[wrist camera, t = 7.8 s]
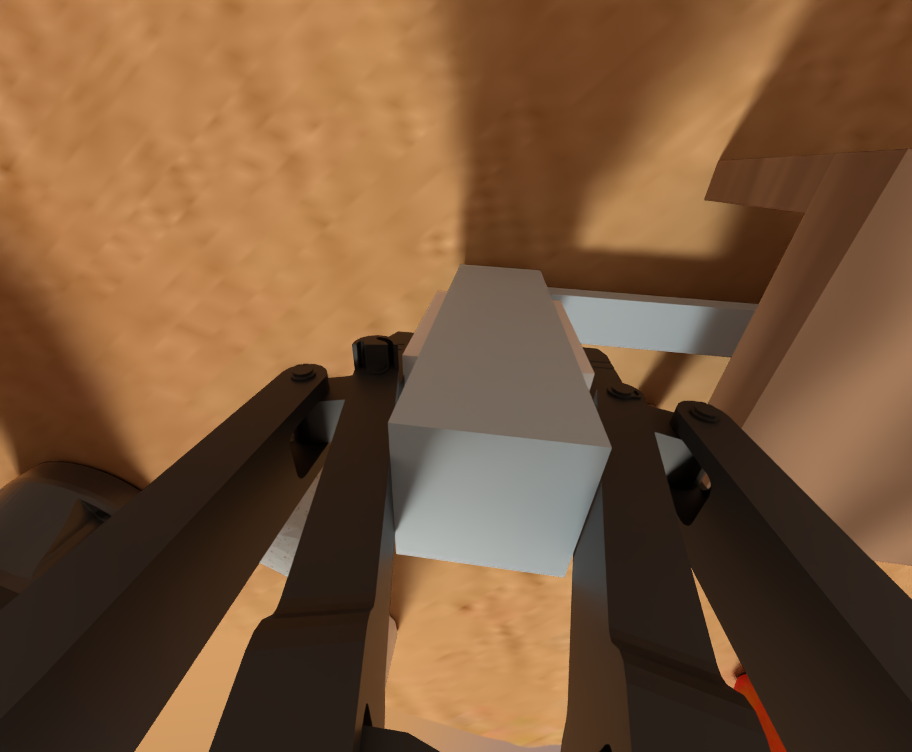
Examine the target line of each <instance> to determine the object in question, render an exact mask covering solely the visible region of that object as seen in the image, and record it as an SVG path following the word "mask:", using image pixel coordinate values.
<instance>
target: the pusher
mask: <svg viewBox="0 0 912 752" xmlns="http://www.w3.org/2000/svg"><path fill="white" fill-rule="evenodd" d="M553 300H558V301H561V303H562V305H563V307H564V309H565V311H566V313H567V315H568V318H569V320H570V322H571V324H572V326H573V328H574V330H575V333H576V335H577V337H578V339H579V341H580V343H581V344H591V345H602V346H612V347H623V348H634V349H645V350H656V351H667V352H678V353H689V354H700V355H711V356H722V357H732V355H733V353H734V351H735V349H736V347H737V345H738V343H739V341H740V340H741V338H742V336H743V334H744V332H745V330H746V328H747V326H748V324H749V322H750V320H751V318H752V316H753V314H754V312H755V310H756V308H757V306H758V304H752V303H739V302H727V301H714V300H702V299H690V298H677V297H665V296H652V295H640V294H627V293H615V292H603V291H590V290H578V289H565V288H553V287H547V285H546V283H545V280H544V278H543V275H542V273H541V270H530V269H517V268H504V267H491V266H478V265H465V264H460V266H459V268H458V271H457V273H456V275H455V277H454V279H453V281H452V284H451V286H450V288H449V290H448V292H447V295H446V297H445V299H444V301H443V303H442V305H441V308H440V310H439V312H438V314H437V316H436V319H435V321H434V323H433V325H432V327H431V330H430V332H429V334H428V336H427V338H426V340H425V343H424V345H423V347H422V349H421V351H420V354H419V356H418V358H417V360H416V362H415V364H414V367H413V369H412V371H411V373H410V375H409V378H408V380H407V382H406V384H405V386H404V388H403V391H402V393H401V395H400V397H399V399H398V402H397V404H396V406H395V408H394V410H393V413H392V415H391V417H390V419H389V421H388V433H389V449H390V463H391V479H392V495H393V510H394V526H395V544H396V554H400V555H407V556H415V557H422V558H429V559H436V560H443V561H450V562H457V563H465V564H472V565H479V566H486V567H493V568H500V569H507V570H515V571H522V572H529V573H536V574H543V575H550V576H558V577H565V574H566V571H567V569H568V566H569V563H570V561H571V558H572V555H573V552H574V550H575V547H576V544H577V542H578V539H579V536H580V533H581V531H582V528H583V525H584V522H585V520H586V517H587V514H588V512H589V509H590V506H591V503H592V501H593V498H594V495H595V493H596V490H597V487H598V484H599V482H600V479H601V476H602V474H603V471H604V468H605V465H606V463H607V460H608V457H609V455H610V452H611V449H612V447H611V444H610V442H609V439H608V437H607V434H606V432H605V429H604V427H603V424H602V422H601V419H600V417H599V414H598V412H597V410H596V407H595V405H594V402H593V400H592V397H591V395H590V392H589V390H588V387H587V385H586V382H585V380H584V377H583V375H582V372H581V370H580V367H579V365H578V362H577V360H576V357H575V355H574V352H573V350H572V347H571V345H570V342H569V340H568V337H567V335H566V332H565V330H564V328H563V325H562V323H561V320H560V318H559V315H558V313H557V310H556V308H555V305H554V303H553Z"/></svg>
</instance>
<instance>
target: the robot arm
mask: <svg viewBox="0 0 912 752" xmlns="http://www.w3.org/2000/svg"><path fill="white" fill-rule="evenodd" d="M447 292H448V291H437V292H436V294H435V296H434V298H433V300H432V302H431V303H430V305H429V307H428V309H427V311H426V313H425V314H424V316H423V318H422V320H421V322H420V324H419V325H418V327H417V329H416V331H415V333H409V332H396V333H395V334H393V335H391V336H389V337H387V336H379V335H375V336H367V337H363V338H360V339H358V340H356V341H355V342H354V343H353V344H352V348H353V357H354V366H355V370H354V373H353V375H351V376H345V377H334V378H328V374H327V370H326V369H325V368H324V367H322V366H320V365H316V364H303V365H302V364H300V365H296V366H294V367H291V368H288V369H287V370H285V371H283V372H282V373H281V374H280V375H278V376H277V377H276V378H275V379H274V380H272V381H271V382H270V383H269V384H268V385H267V386H265V387H264V388H263V389H262V390H261V391H259V392H258V393H257V394H256V395H255V396H253V397H252V398H251V399H250V400H249V401H248V402H246V403H245V404H244V405H243V406H242V407H240V408H239V409H238V410H237V411H236V412H235V413H233V414H232V415H231V416H230V417H229V418H227V419H226V420H225V421H224V422H223V423H222V424H220V425H219V426H218V427H217V428H216V429H214V430H213V431H212V432H211V433H210V434H208V435H207V436H206V437H205V438H204V439H203V440H201V441H200V442H199V443H198V444H197V445H195V446H194V447H193V448H192V449H191V450H190V451H188V452H187V453H186V454H185V455H184V456H182V457H181V458H180V459H179V460H178V461H176V462H175V463H174V464H173V465H172V466H171V467H169V468H168V469H167V470H166V471H165V472H163V473H162V474H161V475H160V476H159V477H158V478H156V479H155V480H154V481H153V482H152V483H150V484H149V485H148V486H147V487H146V488H144V489H143V490H142V491H139V490H138V489H136V488H134V487H133V486H131V485H129V484H127V483H126V482H124V481H122V480H120V479H118V478H116V477H113V476H111V475H109V474H106V473H104V472H101V471H99V470H96V469H93V468H89V467H86V466H82V465H78V464H72V463H65V462H48V463H42V464H39V465H37V466H35V467H33V468H31V469H30V470H28V471H27V472H25V473H23V474H22V475H20V476H19V477H17V478H15V479H14V480H12V481H11V482H9V483H8V484H6V485H5V486H4V487H3V488H2V489H1V490H0V752H134V751H135V750H136V748H137V747H138V746H139V744H140V742H141V741H142V739H143V738H144V736H145V735H146V733H147V732H148V730H149V729H150V727H151V726H152V724H153V723H154V721H155V720H156V718H157V717H158V715H159V714H160V712H161V710H162V709H163V708H164V706H165V705H166V703H167V702H168V700H169V699H170V697H171V696H172V694H173V693H174V691H175V689H176V688H177V687H178V685H179V683H180V682H181V681H182V679H183V678H184V676H185V675H186V673H187V671H188V670H189V668H190V667H191V665H192V664H193V662H194V661H195V659H196V658H197V656H198V655H199V653H200V652H201V650H202V649H203V647H204V646H205V644H206V643H207V641H208V640H209V638H210V637H211V635H212V634H213V632H214V631H215V629H216V628H217V626H218V625H219V623H220V622H221V620H222V619H223V617H224V616H225V614H226V613H227V611H228V610H229V608H230V606H231V605H232V603H233V602H234V600H235V599H236V597H237V596H238V594H239V593H240V591H241V590H242V588H243V587H244V585H245V584H246V582H247V581H248V579H249V578H250V576H251V575H252V573H253V572H254V570H255V569H256V567H257V566H258V564H259V563H260V561H261V560H262V558H263V557H264V555H265V554H266V552H267V551H268V549H269V548H270V546H271V545H272V543H273V541H274V540H275V538H276V537H277V535H278V534H279V532H280V531H281V529H282V528H283V526H284V525H285V523H286V522H287V520H288V519H289V517H290V516H291V514H292V513H293V511H294V510H295V508H296V507H297V505H298V504H299V502H300V501H301V499H302V498H303V496H304V495H305V493H306V492H307V490H308V489H309V487H310V486H311V484H312V483H313V481H314V480H315V478H316V476H317V475H318V473H319V472H320V470H321V469H322V467H323V469H322V472H321V476H320V479H319V482H318V485H317V488H316V491H315V494H314V497H313V500H312V503H311V506H310V510H309V513H308V516H307V519H306V522H305V525H304V528H303V531H302V534H301V537H300V541H299V544H298V547H297V550H296V553H295V556H294V559H293V562H292V565H291V568H290V571H289V575H288V578H287V581H286V584H285V587H284V590H283V593H282V596H281V599H280V602H279V604H278V607H277V609H276V610H275V612H274V613H273V615H271V616H269V617H267V618H265V619H263V620H261V622H260V623H259V625H258V626H257V628H256V629H255V630H254V632H253V634H252V637H251V639H250V641H249V644H248V646H247V648H246V650H245V653H244V656H243V659H242V661H241V664H240V667H239V670H238V672H237V675H236V678H235V681H234V684H233V686H232V689H231V692H230V695H229V698H228V700H227V703H226V706H225V709H224V711H223V714H222V717H221V719H220V722H219V725H218V728H217V730H216V733H215V736H214V739H213V742H212V745H211V747H210V750H209V752H439V751H438V750H436V749H434V748H433V747H431V746H429V745H428V744H426V743H424V742H423V741H420V740H419V739H417V738H416V737H414V736H412V735H411V734H409V733H406V732H400V731H395V730H388V729H384V724H385V723H384V722H385V676H386V660H387V645H388V630H389V615H390V600H391V585H392V570H393V555H394V540H395V526H394V510H393V495H392V479H391V463H390V449H389V433H388V421H389V419H390V417H391V415H392V413H393V410H394V408H395V406H396V404H397V402H398V399H399V397H400V395H401V393H402V391H403V388H404V386H405V384H406V382H407V380H408V378H409V375H410V373H411V371H412V369H413V367H414V364H415V362H416V360H417V358H418V356H419V354H420V351H421V349H422V347H423V345H424V343H425V340H426V338H427V336H428V334H429V332H430V330H431V327H432V325H433V323H434V321H435V319H436V316H437V314H438V312H439V310H440V308H441V305H442V303H443V301H444V299H445V297H446V295H447ZM553 303H554V305H555V308H556V310H557V313H558V315H559V318H560V320H561V323H562V325H563V328H564V330H565V332H566V335H567V337H568V340H569V342H570V345H571V347H572V350H573V352H574V355H575V357H576V360H577V362H578V365H579V367H580V370H581V372H582V375H583V377H584V380H585V382H586V385H587V387H588V390H589V392H590V395H591V397H592V400H593V402H594V405H595V407H596V410H597V412H598V414H599V417H600V419H601V422H602V424H603V427H604V429H605V432H606V434H607V437H608V439H609V442H610V444H611V447H612V449H611V452H610V455H609V457H608V460H607V463H606V465H605V468H604V471H603V474H602V476H601V479H600V482H599V484H598V487H597V490H596V493H595V495H594V498H593V501H592V503H591V506H590V509H589V512H588V514H587V517H586V520H585V522H584V525H583V528H582V531H581V533H580V536H579V539H578V542H577V544H576V547H575V550H574V552H573V573H572V601H571V629H570V657H569V685H568V707H567V717H566V723H565V728H564V733H563V738H562V745H561V752H771V750H770V747H769V744H768V740H767V737H766V735H765V732H764V730H763V728H762V725H761V723H760V720H759V718H758V716H757V713H756V711H755V710H754V708H753V707H752V705H751V704H750V703H749V701H748V700H747V698H746V697H745V696H744V695H743V694H741V693H740V692H738V691H736V690H735V689H733V688H731V687H730V686H728V685H727V684H726V683H725V681H724V680H723V678H722V677H721V674H720V671H719V669H718V666H717V663H716V659H715V655H714V652H713V648H712V644H711V640H710V637H709V633H708V629H707V626H706V622H705V618H704V614H703V611H702V607H701V603H700V599H699V596H698V592H697V588H696V585H695V581H694V577H693V573H692V570H693V572H694V574H695V576H696V578H697V580H698V581H699V583H700V585H701V587H702V589H703V591H704V593H705V595H706V597H707V599H708V601H709V603H710V605H711V607H712V608H713V610H714V612H715V614H716V616H717V618H718V620H719V622H720V624H721V626H722V628H723V630H724V632H725V634H726V635H727V637H728V639H729V641H730V643H731V645H732V647H733V649H734V651H735V653H736V655H737V657H738V659H739V661H740V662H741V664H742V666H743V668H744V670H745V672H746V674H747V676H748V678H749V680H750V682H751V684H752V686H753V688H754V689H755V691H756V693H757V695H758V697H759V699H760V701H761V703H762V705H763V707H764V709H765V711H766V713H767V715H768V716H769V718H770V720H771V722H772V724H773V726H774V728H775V730H776V732H777V734H778V736H779V738H780V740H781V741H782V743H783V745H784V747H785V749H786V751H787V752H912V599H911V598H910V597H909V596H908V595H907V594H906V593H905V592H904V591H903V590H902V589H901V588H900V587H899V586H898V585H897V584H896V583H895V582H894V581H893V580H892V579H891V578H890V577H889V576H888V575H887V574H886V573H885V572H884V571H883V570H882V569H881V568H880V567H879V566H878V565H877V564H876V563H875V562H874V561H873V560H872V559H871V558H870V557H869V556H868V555H867V554H866V553H865V552H864V551H863V550H862V549H861V548H860V547H859V546H858V545H857V544H856V543H855V542H854V541H853V540H852V539H851V538H850V537H849V536H848V535H847V534H846V533H845V532H844V531H843V530H842V529H841V528H840V527H839V526H838V525H837V524H836V523H835V522H834V521H833V520H832V519H831V518H830V517H829V516H828V515H827V514H826V513H825V512H824V511H823V510H822V509H821V508H820V507H819V506H818V505H817V504H816V503H815V502H814V501H813V500H812V499H811V498H810V497H809V496H808V495H807V494H806V493H805V492H804V491H803V490H802V489H801V488H800V487H799V486H798V485H797V484H796V483H795V482H794V481H793V480H792V479H791V478H790V477H789V476H788V475H787V474H786V473H785V472H784V471H783V470H782V469H781V468H780V467H779V466H778V465H777V464H776V463H775V462H774V461H773V460H772V459H771V458H770V457H769V456H768V455H767V454H766V453H765V452H764V451H763V450H762V449H761V448H760V447H759V446H758V445H757V444H756V443H755V442H754V441H753V440H752V439H751V438H750V437H749V436H748V435H747V434H746V433H745V432H744V431H743V430H742V429H741V428H740V427H739V426H738V425H737V424H736V423H735V422H734V421H733V420H732V419H731V418H730V417H729V416H728V415H727V414H725V413H724V412H723V411H721V410H719V409H717V408H715V407H714V406H713V405H710V404H706V403H704V402H696V401H682V402H680V403H678V405H677V407H676V409H675V411H674V412H670V411H666V410H662V409H659V408H655V407H652V406H649V405H647V402H646V398H645V397H644V395H643V393H642V392H640V391H639V390H638V389H636V388H634V387H632V386H630V385H628V384H624V383H622V381H621V380H620V378H619V376H618V374H617V373H616V371H615V370H614V367H613V366H612V364H611V362H610V360H609V359H608V357H607V355H605V354H604V353H603V352H601V351H600V350H598V349H595V348H584V347H582V345H581V343H580V341H579V339H578V337H577V335H576V333H575V330H574V328H573V326H572V324H571V322H570V320H569V318H568V315H567V313H566V311H565V309H564V307H563V305H562V303H561V301H558V300H553ZM705 474H707V475H708V477H709V479H710V484H711V486H710V488H709V489H708V488H707V487H706V486H705V485H704V483H703V482H702V480H703V478H704V476H705ZM691 568H692V570H691Z"/></svg>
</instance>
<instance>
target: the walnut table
mask: <svg viewBox="0 0 912 752" xmlns="http://www.w3.org/2000/svg"><path fill="white" fill-rule="evenodd" d="M705 200H707V201H715V202H723V203H731V204H739V205H746V206H754V207H762V208H770V209H778V210H785V211H793V212H801V213H805V214H804V216H803V218H802V220H801V222H800V224H799V226H798V228H797V230H796V232H795V234H794V236H793V238H792V240H791V242H790V244H789V245H788V247H787V249H786V251H785V253H784V255H783V257H782V259H781V261H780V263H779V265H778V267H777V269H776V271H775V273H774V275H773V277H772V279H771V281H770V283H769V285H768V287H767V289H766V291H765V293H764V294H763V296H762V298H761V300H760V302H759V304H758V306H757V308H756V310H755V312H754V314H753V316H752V318H751V320H750V322H749V324H748V326H747V328H746V330H745V332H744V334H743V336H742V338H741V340H740V341H739V343H738V345H737V347H736V349H735V351H734V353H733V355H732V357H731V359H730V361H729V363H728V365H727V367H726V369H725V371H724V373H723V375H722V377H721V379H720V381H719V383H718V385H717V387H716V388H715V390H714V392H713V394H712V396H711V398H710V400H709V402H708V404H710V405H713V406H714V407H715V408H717V409H719V410H721V411H723V412H724V413H725V414H727V415H728V416H729V417H730V418H731V419H732V420H733V421H734V422H735V423H736V424H737V425H738V426H739V427H740V428H741V429H742V430H743V431H744V432H745V433H746V434H747V435H748V436H749V437H750V438H751V439H752V440H753V441H754V442H755V443H756V444H757V445H758V446H759V447H760V448H761V449H762V450H763V451H764V452H765V453H766V454H767V455H768V456H769V457H770V458H771V459H772V460H773V461H774V462H775V463H776V464H777V465H778V466H779V467H780V468H781V469H782V470H783V471H784V472H785V473H786V474H787V475H788V476H789V477H790V478H791V479H792V480H793V481H794V482H795V483H796V484H797V485H798V486H799V487H800V488H801V489H802V490H803V491H804V492H805V493H806V494H807V495H808V496H809V497H810V498H811V499H812V500H813V501H814V502H815V503H816V504H817V505H818V506H819V507H820V508H821V509H822V510H823V511H824V512H825V513H826V514H827V515H828V516H829V517H830V518H831V519H832V520H833V521H834V522H835V523H836V524H837V525H838V526H839V527H840V528H841V529H842V530H843V531H844V532H845V533H846V534H847V535H848V536H849V537H850V538H851V539H852V540H853V541H854V542H855V543H856V544H857V545H858V546H859V547H860V548H861V549H862V550H863V551H864V552H865V553H866V554H867V555H868V556H869V557H870V558H871V559H872V560H873V561H879V562H886V563H894V564H902V565H910V566H912V149H899V150H882V151H866V152H850V153H834V154H818V155H802V156H786V157H770V158H754V159H738V160H721V161H719V162H718V164H717V167H716V170H715V173H714V175H713V178H712V181H711V183H710V186H709V189H708V191H707V194H706V197H705ZM647 405H649V406H652V407H655V408H657V407H656V406H655V405H651V404H647ZM702 482H703V483H704V485H705V486H706V487H707V488H708V489H709V488H710V486H711V484H710V479H709V477H708V475H707V474H705V476H704V478H703V480H702Z"/></svg>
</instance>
